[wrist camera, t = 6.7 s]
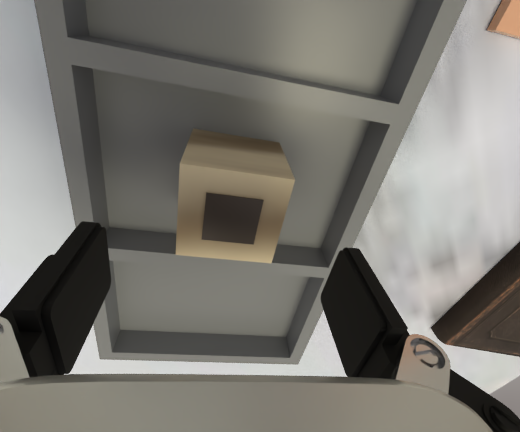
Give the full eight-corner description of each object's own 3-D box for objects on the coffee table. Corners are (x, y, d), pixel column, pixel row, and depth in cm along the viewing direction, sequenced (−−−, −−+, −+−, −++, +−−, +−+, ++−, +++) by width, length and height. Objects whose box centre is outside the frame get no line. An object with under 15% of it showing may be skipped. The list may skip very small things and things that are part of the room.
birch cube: (193, 128, 16) (179, 164, 12) (279, 142, 17) (295, 180, 13) (188, 204, 19) (175, 255, 14) (262, 213, 20) (271, 264, 15)
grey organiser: (4, -445, 8) (-79, -618, 6) (521, -211, 11) (591, -270, 9) (110, 332, 26) (99, 359, 23) (293, 339, 28) (297, 364, 26)
